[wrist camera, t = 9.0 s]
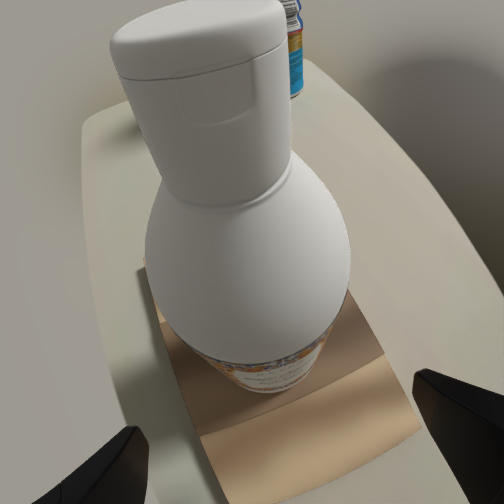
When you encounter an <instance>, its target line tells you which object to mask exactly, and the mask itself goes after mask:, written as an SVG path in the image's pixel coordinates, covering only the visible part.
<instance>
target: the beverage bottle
mask: <svg viewBox="0 0 504 504" xmlns="http://www.w3.org/2000/svg"><path fill="white" fill-rule="evenodd" d="M278 1H279V2H280V3H281V4H282V5H283V7H284V10H285V14H286V21H287V36H288V54H289V74H290V98H291V97H294V96H296V95H297V94H299V93H300V92H301V91H302V89H303V55H302V54H303V53H302V30H303V22H302V19H301V18H300V16H299V12H300V10H301V4H300V2H299V0H278Z"/></svg>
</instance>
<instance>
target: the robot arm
mask: <svg viewBox="0 0 504 504" xmlns="http://www.w3.org/2000/svg"><path fill="white" fill-rule="evenodd" d="M412 394H413V397H414V400H415V402H416V404H417V406H418V408H419V411H420V413H421V415H422V417H423V419H424V422H425V424H426V426H427V428H428V430H429V432H430V434H431V436H432V438H433V439H434V441H435V443H436V444H437V446H438V448H439V449H440V451H441V453H442V454H443V456H444V458H445V460H446V461H447V463H448V465H449V467H450V468H451V470H452V472H453V474H454V475H455V477H456V479H457V481H458V483H459V484H460V486H461V488H462V490H463V492H464V493H465V495H466V497H467V499H468V501H469V503H470V504H504V395H501V394H498V393H495V392H492V391H489V390H486V389H483V388H480V387H477V386H474V385H471V384H468V383H466V382H463V381H460V380H457V379H454V378H452V377H449V376H446V375H443V374H441V373H438V372H435V371H433V370H430V369H427V368H425V369H422V370H420V371H417V372H416V373H415V374H414V380H413V389H412ZM148 457H149V444H148V442H147V440H146V438H145V436H144V435H143V433H142V431H141V430H140V428H139V427H138V426H126V427H124V428H123V429H122V430H121V431H120V432H119V433H118V434H117V435H115V436H114V437H113V438H112V439H111V440H110V441H109V442H107V443H106V444H105V445H104V446H103V447H102V448H101V449H99V450H98V451H97V452H96V453H95V454H94V455H92V456H91V457H90V458H89V459H88V460H87V461H85V462H84V463H83V464H82V465H81V466H80V467H78V468H77V469H76V470H75V471H74V472H72V473H71V474H70V475H69V476H68V477H66V478H65V479H64V480H63V481H62V482H61V484H60V483H59V484H58V485H56V486H55V487H54V488H53V489H52V490H50V491H49V492H48V493H46V494H45V495H44V496H42V497H41V498H39V499H38V500H36V501H35V502H33V503H32V504H144V502H145V495H146V489H147V480H148Z"/></svg>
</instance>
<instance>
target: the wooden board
mask: <svg viewBox="0 0 504 504" xmlns="http://www.w3.org/2000/svg"><path fill="white" fill-rule="evenodd" d="M143 260H144V264H145V258H143ZM145 269H146V264H145ZM146 273H147V272H146ZM150 289H151V288H150ZM151 293H152V292H151ZM152 296H153V294H152ZM153 300H154V304H155V308H156V311H157V315H158V318H159V322H160V328H161V331H162V334H163V338H164V341H165V344H166V348H167V351H168V354H169V357H170V360H171V363H172V366H173V369H174V372H175V375H176V378H177V381H178V384H179V387H180V390H181V393H182V395H183V398H184V401H185V404H186V406H187V409H188V412H189V414H190V417H191V419H192V422H193V425H194V427H195V430H196V432H197V435H198V437H199V438H200V440H201V442H202V445H203V447H204V450H205V452H206V454H207V457H208V459H209V461H210V463H211V466H212V468H213V470H214V472H215V475H216V477H217V479H218V481H219V483H220V485H221V487H222V490H223V492H224V494H225V496H226V498H227V500H228V502H229V504H276V503H279V502H281V501H284V500H287V499H290V498H292V497H295V496H297V495H300V494H302V493H305V492H307V491H310V490H312V489H314V488H317V487H319V486H321V485H323V484H326V483H328V482H330V481H332V480H334V479H336V478H338V477H340V476H342V475H344V474H346V473H348V472H350V471H352V470H354V469H356V468H358V467H360V466H362V465H364V464H365V463H367V462H369V461H371V460H373V459H374V458H376V457H378V456H380V455H381V454H383V453H385V452H386V451H388V450H390V449H391V448H393V447H394V446H396V445H398V444H399V443H401V442H402V441H404V440H405V439H407V438H408V437H410V436H411V435H413V434H414V433H416V432H417V431H419V430H420V429H422V426H421V424H420V422H419V420H418V418H417V416H416V414H415V412H414V410H413V408H412V406H411V404H410V402H409V400H408V398H407V396H406V394H405V392H404V390H403V389H402V387H401V385H400V383H399V381H398V379H397V377H396V375H395V373H394V371H393V370H392V368H391V366H390V364H389V362H388V360H387V358H386V357H385V355H384V351H383V349H382V347H381V345H380V344H379V342H378V340H377V338H376V336H375V335H374V333H373V331H372V329H371V328H370V326H369V324H368V322H367V321H366V319H365V317H364V315H363V314H362V312H361V310H360V309H359V307H358V305H357V303H356V302H355V300H354V298H353V297H352V295H351V293H350V292H349V290H347V294H346V297H345V300H344V303H343V306H342V308H341V310H340V312H339V314H338V317H337V319H336V321H335V323H334V325H333V327H332V330H331V332H330V334H329V336H328V338H327V340H326V342H325V344H324V346H323V348H322V350H321V352H320V354H319V356H318V358H317V360H316V362H315V364H314V366H313V367H312V369H311V370H310V372H309V373H308V374H307V376H306V377H305V378H304V379H303V380H301V381H300V382H299V383H297V384H296V385H294V386H293V387H291V388H289V389H286V390H283V391H280V392H275V393H259V392H254V391H250V390H248V389H245V388H243V387H241V386H239V385H238V384H236V383H235V382H233V381H232V380H231V379H229V378H228V377H227V376H225V375H224V374H223V373H221V372H220V371H219V370H218V369H216V368H215V367H214V366H213V365H211V364H210V363H209V362H207V361H206V360H205V359H204V358H203V357H201V356H200V355H199V354H198V353H196V352H195V351H194V350H193V349H192V348H190V347H189V346H188V345H187V344H186V343H184V342H183V341H182V340H181V339H180V338H179V337H178V336H177V335H176V334H175V333H174V331H173V330H172V329H171V327H170V326H169V324H168V323H167V321H166V320H165V318H164V317H163V315H162V313H161V311H160V310H159V308H158V306H157V304H156V301H155V299H154V297H153Z"/></svg>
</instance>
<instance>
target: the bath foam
mask: <svg viewBox="0 0 504 504" xmlns="http://www.w3.org/2000/svg"><path fill="white" fill-rule="evenodd" d="M110 52H111V56H112V59H113V62H114V65H115V67H116V70H117V72H118V75H119V78H120V80H121V83H122V85H123V88H124V91H125V93H126V96H127V98H128V101H129V103H130V106H131V108H132V110H133V113H134V115H135V118H136V120H137V123H138V125H139V127H140V130H141V132H142V134H143V137H144V139H145V141H146V144H147V146H148V148H149V151H150V153H151V155H152V157H153V159H154V162H155V164H156V166H157V168H158V170H159V172H160V174H161V176H162V178H163V179H162V181H161V184H160V187H159V189H158V192H157V195H156V198H155V201H154V204H153V207H152V210H151V214H150V218H149V222H148V227H147V232H146V239H145V264H146V272H147V277H148V281H149V285H150V288H151V292H152V294H153V297H154V299H155V301H156V304H157V306H158V308H159V310H160V311H161V313H162V315H163V317H164V318H165V320H166V321H167V323H168V324H169V326H170V327H171V329H172V330H173V331H174V333H175V334H176V335H177V336H178V337H179V338H180V339H181V340H182V341H183V342H184V343H186V344H187V345H188V346H189V347H190V348H192V349H193V350H194V351H195V352H196V353H198V354H199V355H200V356H201V357H203V358H204V359H205V360H206V361H207V362H209V363H210V364H211V365H213V366H214V367H215V368H216V369H218V370H219V371H220V372H221V373H223V374H224V375H225V376H227V377H228V378H229V379H231V380H232V381H233V382H235V383H236V384H238V385H239V386H241V387H243V388H245V389H248V390H250V391H254V392H259V393H275V392H280V391H283V390H286V389H289V388H291V387H293V386H294V385H296V384H297V383H299V382H300V381H301V380H303V379H304V378H305V377H306V376H307V374H308V373H309V372H310V370H311V369H312V367H313V366H314V364H315V362H316V360H317V358H318V356H319V354H320V352H321V350H322V348H323V346H324V344H325V342H326V340H327V338H328V336H329V334H330V332H331V330H332V327H333V325H334V323H335V321H336V319H337V317H338V314H339V312H340V310H341V308H342V306H343V303H344V300H345V297H346V294H347V290H348V284H349V276H350V246H349V240H348V234H347V230H346V226H345V223H344V220H343V217H342V215H341V212H340V210H339V208H338V206H337V204H336V202H335V201H334V199H333V197H332V195H331V194H330V192H329V191H328V189H327V188H326V187H325V185H324V184H323V183H322V181H321V180H320V179H319V178H318V177H317V176H316V174H315V173H314V172H313V171H312V170H311V169H310V168H309V167H308V166H307V165H306V164H305V163H304V162H303V161H302V160H301V159H300V158H299V157H298V156H297V155H296V154H295V153H294V152H293V151H292V150H291V100H290V74H289V54H288V36H287V21H286V14H285V10H284V7H283V5H282V4H281V3H280V2H279V1H278V0H187V1H183V2H179V3H176V4H172V5H169V6H166V7H163V8H160V9H157V10H155V11H152V12H150V13H147V14H145V15H143V16H141V17H139V18H137V19H135V20H133V21H131V22H129V23H128V24H126V25H125V26H123V27H122V28H120V29H119V30H118V31H117V32H116V33H115V34H114V35H113V36H112V39H111V41H110Z"/></svg>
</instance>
